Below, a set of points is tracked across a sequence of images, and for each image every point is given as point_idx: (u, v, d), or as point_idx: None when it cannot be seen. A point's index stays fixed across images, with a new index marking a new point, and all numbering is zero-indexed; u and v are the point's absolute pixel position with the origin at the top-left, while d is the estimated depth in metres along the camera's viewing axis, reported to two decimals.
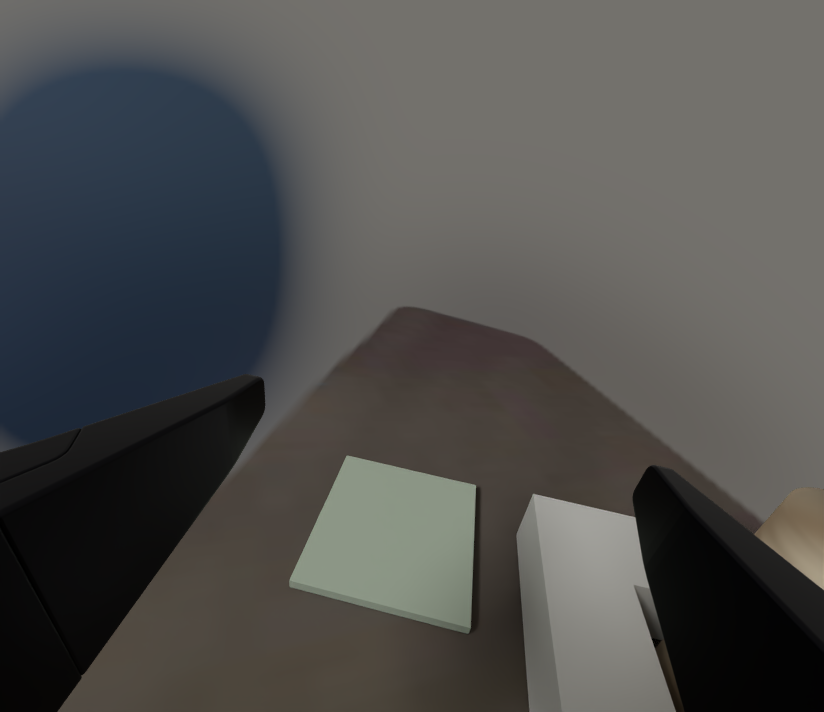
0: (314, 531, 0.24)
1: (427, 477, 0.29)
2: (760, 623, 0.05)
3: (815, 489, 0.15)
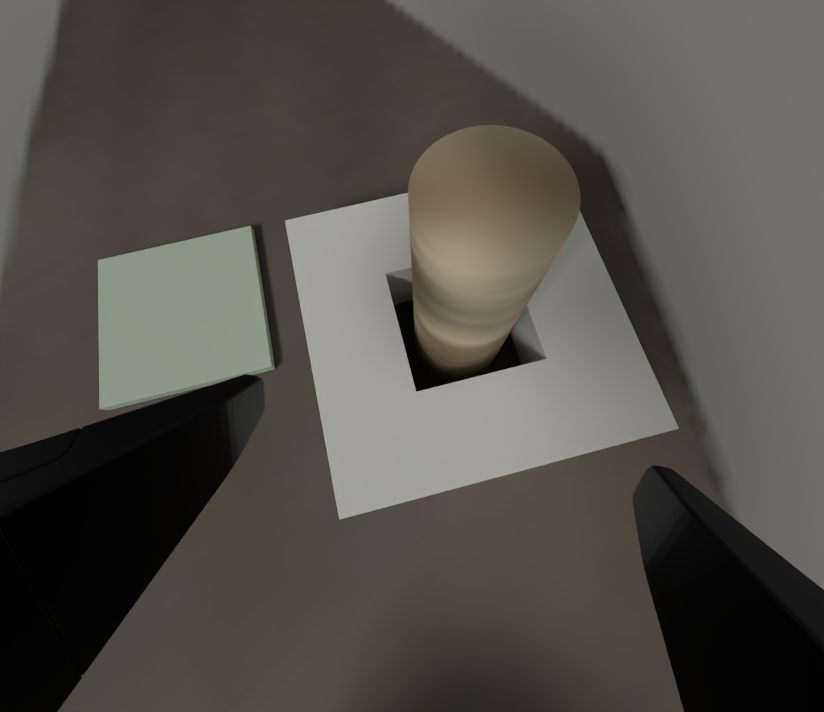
0: (101, 356, 0.23)
1: (196, 242, 0.26)
2: (760, 623, 0.05)
3: (458, 131, 0.12)
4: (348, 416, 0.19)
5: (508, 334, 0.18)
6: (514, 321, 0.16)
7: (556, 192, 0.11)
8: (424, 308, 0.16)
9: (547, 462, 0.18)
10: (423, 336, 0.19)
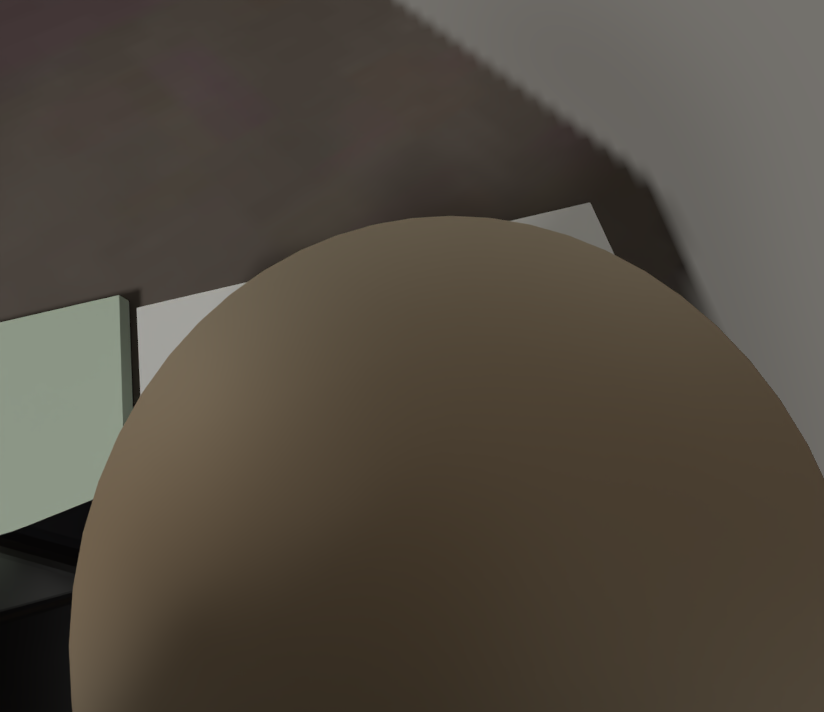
0: None
1: (33, 321, 0.17)
2: None
3: (335, 240, 0.03)
4: None
5: None
6: None
7: (741, 552, 0.03)
8: None
9: None
10: None
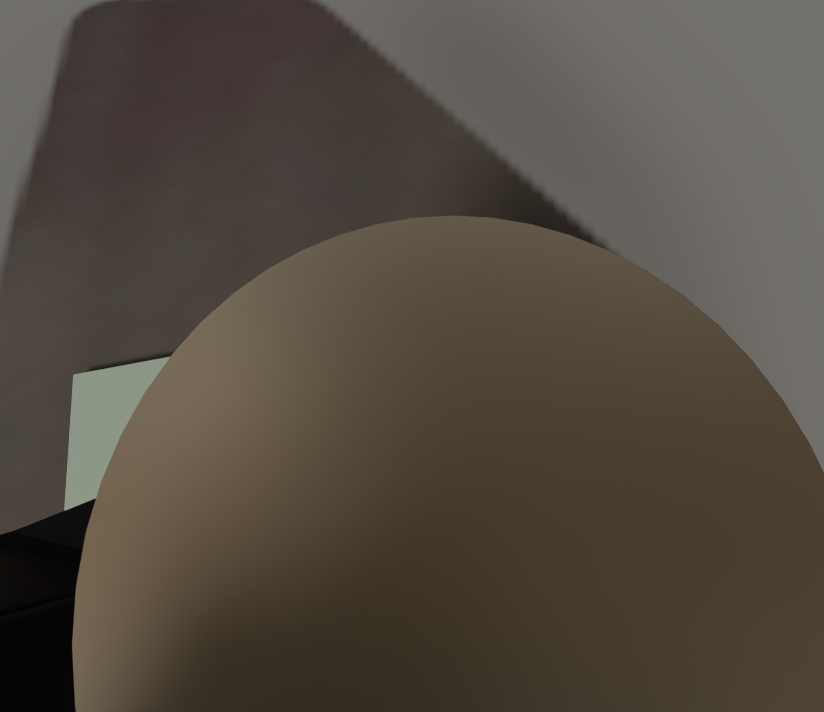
0: (68, 493, 0.21)
1: None
2: None
3: (337, 240, 0.03)
4: None
5: None
6: None
7: (743, 552, 0.03)
8: None
9: None
10: None
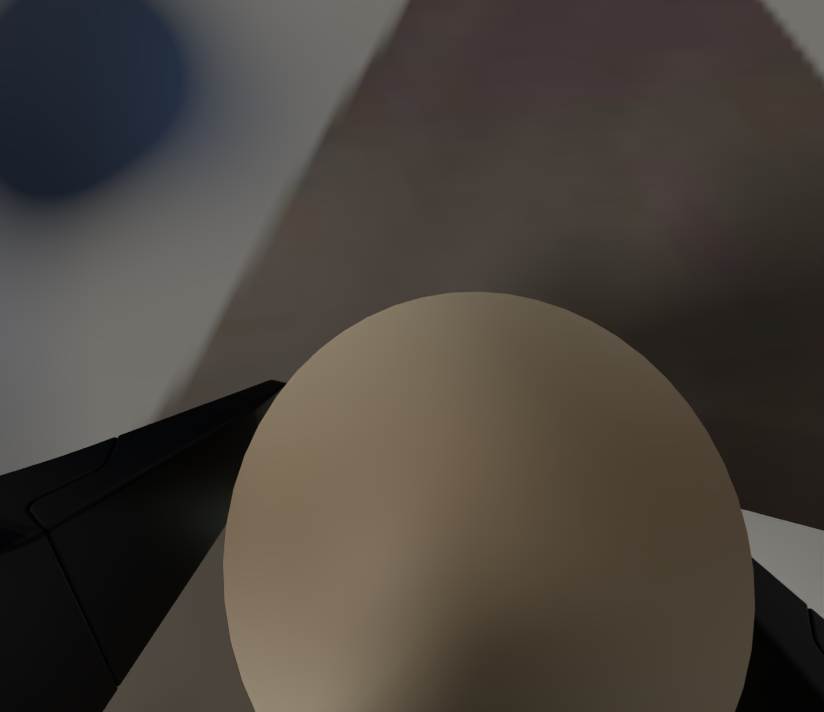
0: None
1: None
2: None
3: (393, 308, 0.04)
4: None
5: None
6: None
7: (677, 535, 0.04)
8: None
9: None
10: None
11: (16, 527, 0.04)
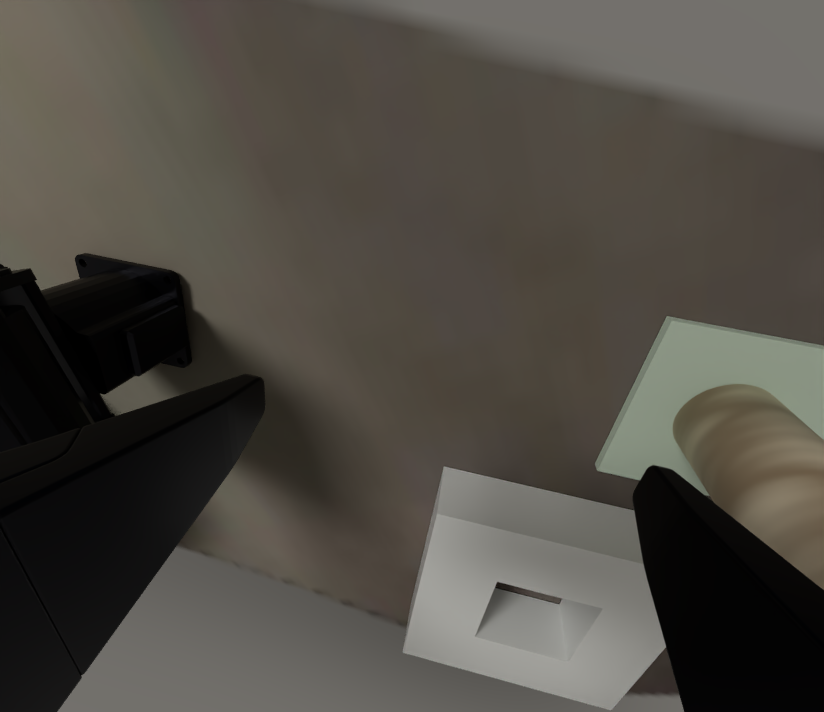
0: (738, 336, 0.19)
1: None
2: (760, 623, 0.05)
3: None
4: (505, 545, 0.23)
5: None
6: None
7: None
8: (811, 524, 0.13)
9: (414, 606, 0.28)
10: (755, 455, 0.16)
11: None
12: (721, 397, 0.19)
